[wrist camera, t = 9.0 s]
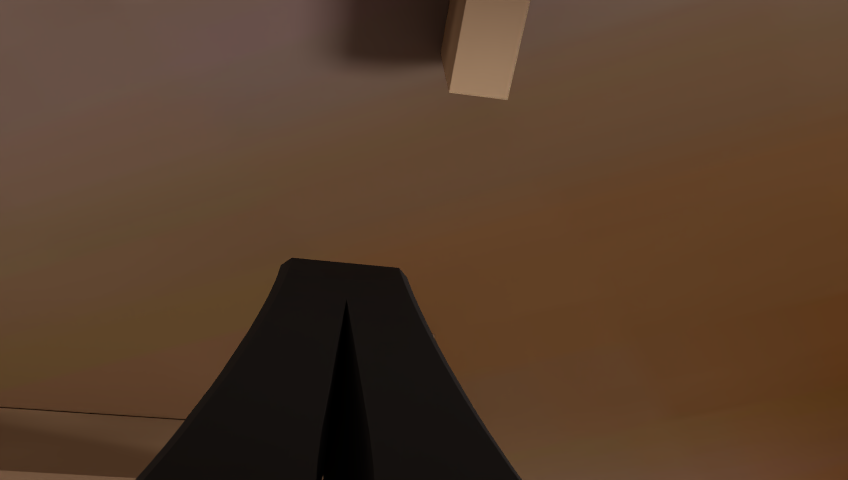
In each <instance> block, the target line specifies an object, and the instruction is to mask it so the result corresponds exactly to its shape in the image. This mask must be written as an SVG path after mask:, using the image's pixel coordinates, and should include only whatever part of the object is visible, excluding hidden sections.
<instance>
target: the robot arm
mask: <svg viewBox="0 0 848 480" xmlns="http://www.w3.org/2000/svg"><path fill="white" fill-rule="evenodd" d="M322 478H323V480H522V479H521V478H520V477H519V475H518V474H517V472H516V471H515V470H514V468H513V467H512V465H511V464H510V462H509V461H508V459H507V458H506V457H505V455H504V454H503V452H502V451H501V449H500V448H499V446H498V445H497V443H496V442H495V440H494V439H493V437H492V436H491V434H490V433H489V431H488V430H487V428H486V427H485V425H484V423H483V422H482V420H481V419H480V417H479V416H478V414H477V412H476V411H475V409H474V408H473V406H472V404H471V403H470V401H469V399H468V397H467V396H466V394H465V392H464V391H463V389H462V387H461V385H460V384H459V382H458V380H457V379H456V377H455V375H454V373H453V372H452V370H451V368H450V367H449V365H448V363H447V361H446V359H445V357H444V356H443V354H442V352H441V350H440V348H439V346H438V344H437V342H436V340H435V339H434V337H433V335H432V333H431V331H430V329H429V327H428V325H427V323H426V321H425V319H424V316H423V314H422V312H421V310H420V308H419V306H418V303H417V301H416V299H415V297H414V294H413V292H412V290H411V287H410V285H409V282H408V279H407V277H406V276H405V275H404V273H403V272H402V271H401V270H400V269H399V268H393V267H383V266H372V265H362V264H351V263H341V262H330V261H320V260H309V259H299V258H291V259H289V260H288V261H286V262H285V263H284V264H282V265H281V267H280V270H279V273H278V276H277V278H276V281H275V283H274V285H273V287H272V289H271V292H270V294H269V296H268V298H267V299H266V301H265V303H264V305H263V307H262V309H261V310H260V312H259V314H258V316H257V317H256V319H255V321H254V322H253V324H252V326H251V328H250V329H249V331H248V333H247V334H246V336H245V337H244V339H243V340H242V342H241V343H240V345H239V346H238V348H237V349H236V351H235V352H234V354H233V355H232V357H231V358H230V360H229V361H228V363H227V364H226V366H225V367H224V369H223V370H222V372H221V373H220V375H219V376H218V377H217V379H216V380H215V382H214V383H213V384H212V386H211V387H210V388H209V390H208V391H207V392H206V394H205V395H204V396H203V397H202V399H201V400H200V401H199V403H198V404H197V405H196V406H195V408H194V409H193V410H192V412H191V413H190V414H189V415H188V417H187V418H186V419H185V421H184V422H183V423H182V425H181V426H180V427H179V428H178V430H177V431H176V432H175V434H174V435H173V436H172V437H171V439H170V440H169V441H168V442H167V443H166V445H165V446H164V447H163V448H162V449H161V450H160V452H159V453H158V454H157V455H156V456H155V458H154V459H153V460H152V461H151V462H150V463H149V465H148V466H147V467H146V468H145V469H144V470H143V471H142V472H141V474H140V475H139V476H138V477H137V478H136V479H135V480H322Z"/></svg>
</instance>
